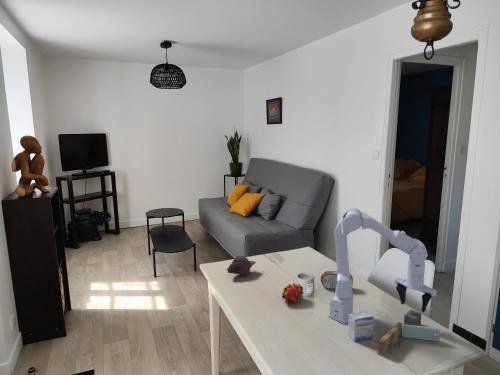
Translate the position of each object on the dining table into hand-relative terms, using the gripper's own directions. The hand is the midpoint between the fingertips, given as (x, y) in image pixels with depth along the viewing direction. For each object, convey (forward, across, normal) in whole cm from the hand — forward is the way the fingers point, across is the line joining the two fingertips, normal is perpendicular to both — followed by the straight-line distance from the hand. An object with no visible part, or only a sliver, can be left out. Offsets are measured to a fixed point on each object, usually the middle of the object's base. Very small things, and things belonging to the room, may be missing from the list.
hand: (413, 307), depth 131 cm
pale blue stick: (+8, -6, +6) cm, 12 cm away
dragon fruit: (+8, +44, +18) cm, 49 cm away
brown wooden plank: (+8, 0, +17) cm, 19 cm away
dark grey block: (+8, 0, 0) cm, 8 cm away
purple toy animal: (+8, +81, +16) cm, 83 cm away
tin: (+8, +37, -6) cm, 39 cm away
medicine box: (+8, +10, +20) cm, 24 cm away
